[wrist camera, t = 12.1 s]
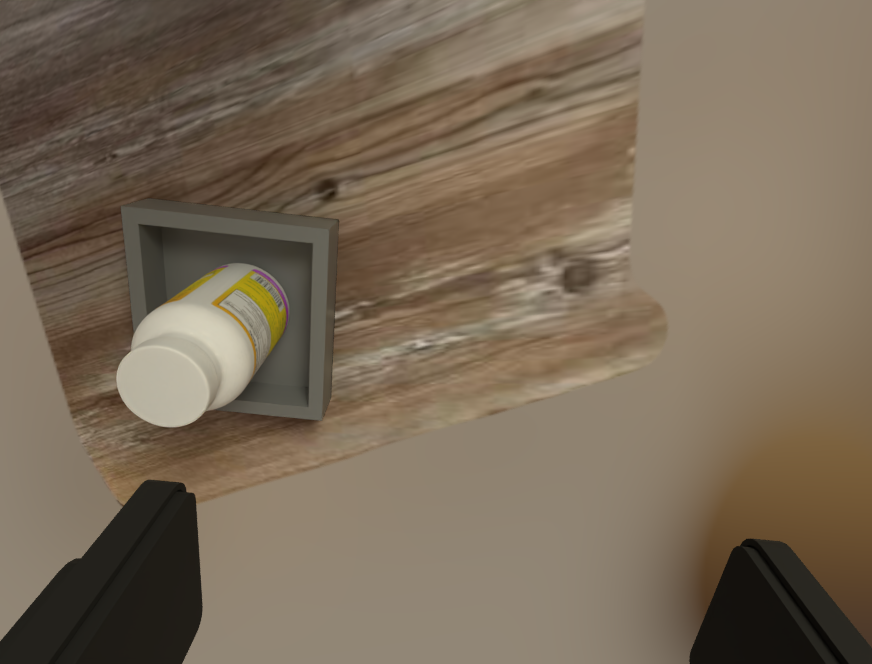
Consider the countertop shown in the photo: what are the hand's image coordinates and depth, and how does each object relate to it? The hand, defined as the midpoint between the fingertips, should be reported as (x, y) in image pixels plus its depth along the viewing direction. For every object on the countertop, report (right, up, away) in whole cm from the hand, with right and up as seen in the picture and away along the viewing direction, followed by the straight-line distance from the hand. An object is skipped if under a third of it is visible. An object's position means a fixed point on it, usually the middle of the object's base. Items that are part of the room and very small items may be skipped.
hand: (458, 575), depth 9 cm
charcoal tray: (-14, +6, +30) cm, 34 cm away
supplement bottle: (-14, +6, +30) cm, 34 cm away
